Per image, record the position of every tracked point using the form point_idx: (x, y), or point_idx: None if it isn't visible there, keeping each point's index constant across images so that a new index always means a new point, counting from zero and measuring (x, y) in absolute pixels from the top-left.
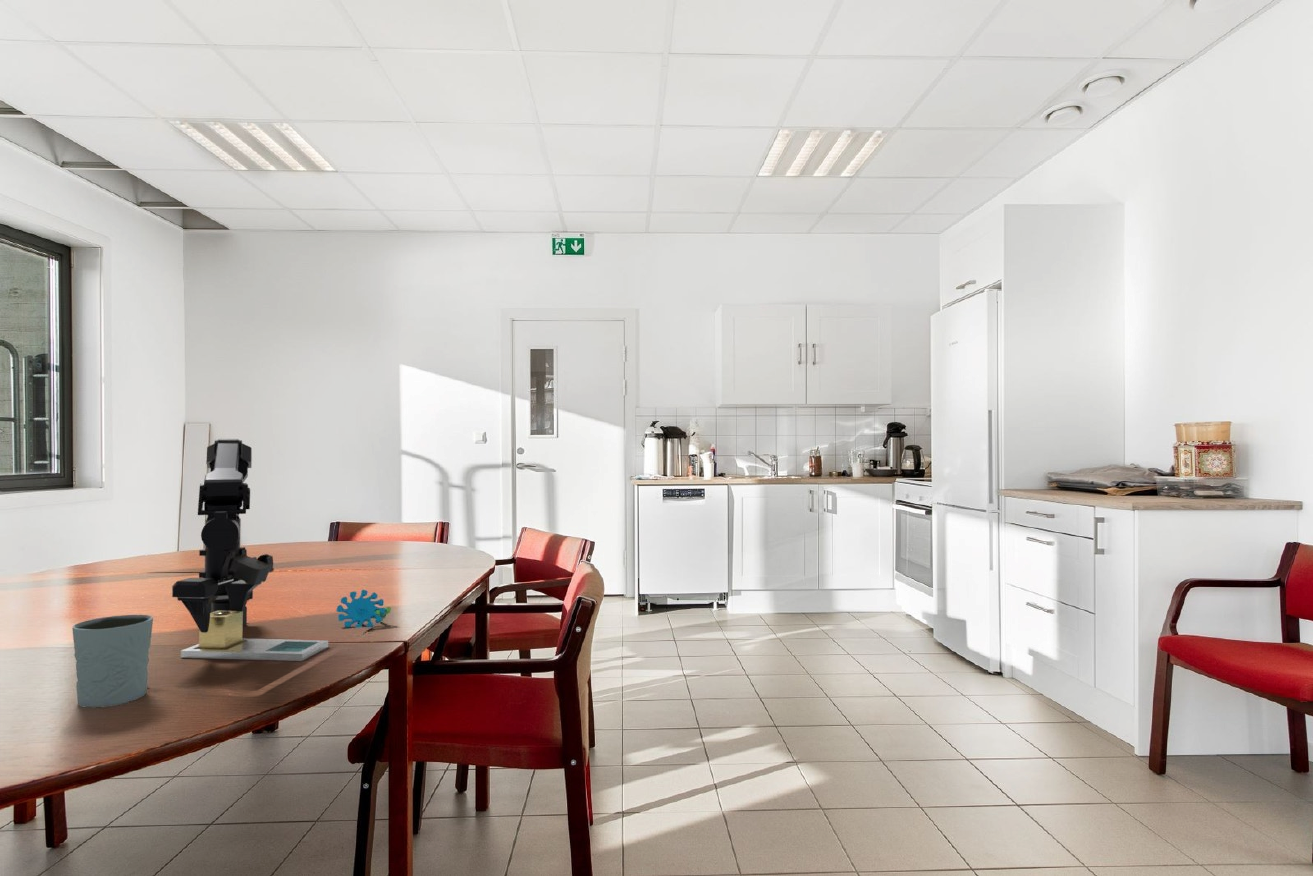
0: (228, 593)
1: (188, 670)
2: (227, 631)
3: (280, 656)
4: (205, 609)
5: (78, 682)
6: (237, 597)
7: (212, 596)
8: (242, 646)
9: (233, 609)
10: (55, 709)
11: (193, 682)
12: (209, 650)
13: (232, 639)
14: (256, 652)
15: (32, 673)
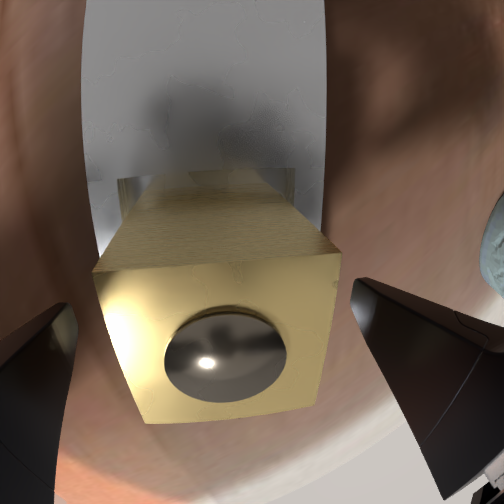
0: (49, 490)
1: (383, 218)
2: (276, 214)
3: None
4: (500, 326)
5: None
6: (20, 430)
7: None
8: (230, 127)
9: (62, 379)
10: None
11: (465, 132)
12: None
13: (219, 199)
14: (319, 11)
15: (353, 448)
